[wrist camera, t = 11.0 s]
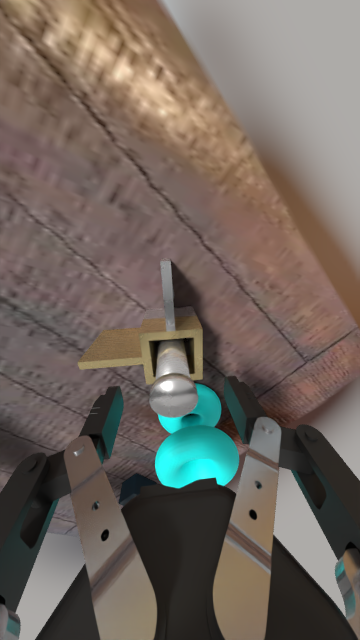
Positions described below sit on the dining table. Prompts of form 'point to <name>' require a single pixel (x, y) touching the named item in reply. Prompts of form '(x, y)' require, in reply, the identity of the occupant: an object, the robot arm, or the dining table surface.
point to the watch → (133, 487)
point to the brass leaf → (145, 346)
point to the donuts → (196, 445)
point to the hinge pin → (173, 381)
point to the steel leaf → (169, 305)
